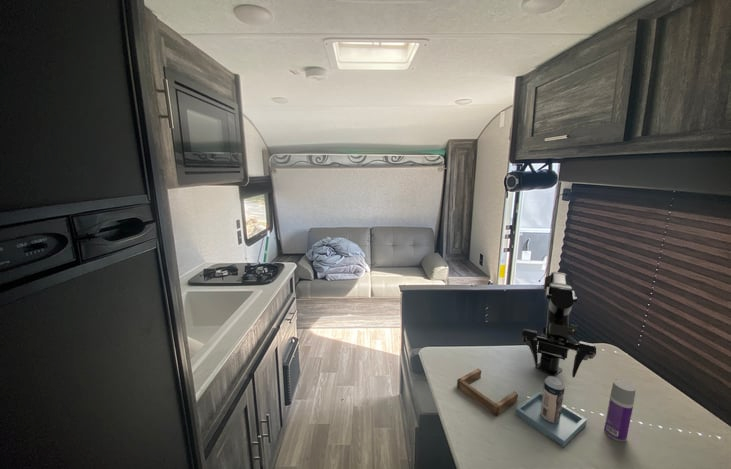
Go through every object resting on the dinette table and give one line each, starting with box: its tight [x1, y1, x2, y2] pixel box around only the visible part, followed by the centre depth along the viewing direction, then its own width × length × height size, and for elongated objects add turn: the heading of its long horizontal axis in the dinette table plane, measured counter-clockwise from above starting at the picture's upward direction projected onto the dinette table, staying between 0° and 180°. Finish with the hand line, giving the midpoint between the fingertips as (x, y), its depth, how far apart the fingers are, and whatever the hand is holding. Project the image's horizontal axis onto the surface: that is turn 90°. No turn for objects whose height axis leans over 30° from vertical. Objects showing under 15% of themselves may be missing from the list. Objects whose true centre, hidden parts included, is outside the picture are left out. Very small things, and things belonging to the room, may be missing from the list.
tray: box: [514, 391, 588, 448], centre depth 84 cm, size 13×13×2 cm
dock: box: [456, 368, 519, 417], centre depth 94 cm, size 11×14×3 cm
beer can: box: [540, 375, 566, 423], centre depth 83 cm, size 5×5×12 cm
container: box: [603, 379, 637, 442], centre depth 78 cm, size 5×5×15 cm
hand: (554, 371), depth 86 cm, fingers open, 9 cm apart
